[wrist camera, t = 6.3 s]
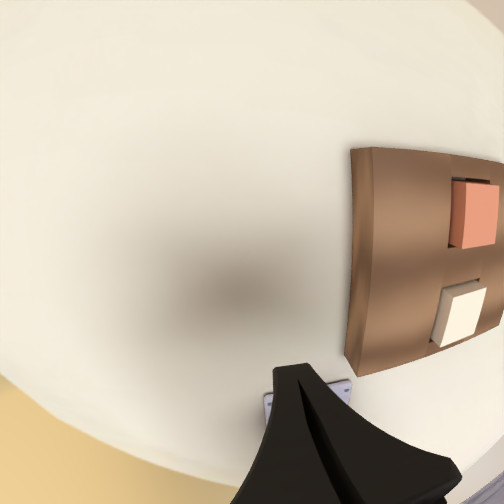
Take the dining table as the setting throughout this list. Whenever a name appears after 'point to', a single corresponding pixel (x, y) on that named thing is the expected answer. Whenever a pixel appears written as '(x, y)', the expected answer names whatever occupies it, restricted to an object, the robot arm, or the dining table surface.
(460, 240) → the terracotta key
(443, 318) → the ivory key
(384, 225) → the key panel
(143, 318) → the dining table surface
